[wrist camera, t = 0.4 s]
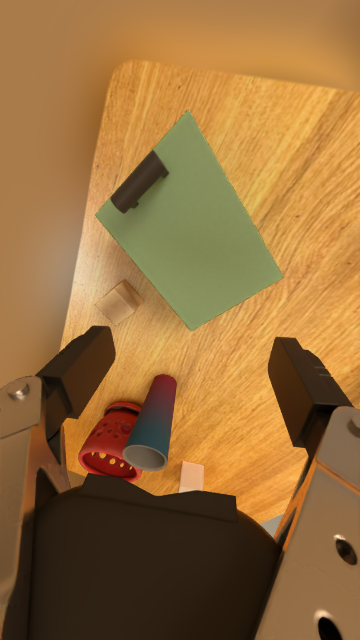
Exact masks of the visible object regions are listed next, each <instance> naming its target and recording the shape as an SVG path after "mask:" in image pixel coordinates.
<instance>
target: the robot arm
mask: <svg viewBox="0 0 360 640" xmlns="http://www.w3.org/2000/svg"><path fill="white" fill-rule="evenodd" d="M115 355H116V352H115V347H114V342H113V337H112V333H111V329H110V327H108V326H92V327H91V328H90V329H89V330H88V331H87V332H86V333H85V334H84V335H81V336H79V337H77V338H75V339H73V340H72V341H71V342H70V343H69V344H68V345H67V346H66V347H65V348H64V349H63V350H61V351H60V352H59V354H57V355H56V356H55V357H54V358H53V359H52V360H51V361H50V362H49V363H48V364H47V365H46V366H45V367H44V368H43V369H41V370H40V371H39V372H38V373H37V374H36V375H35V376H26V377H22V378H19V379H16V380H14V381H12V382H10V383H8V384H7V385H5V386H4V387H3V388H1V389H0V640H360V409H357V408H354V406H353V405H352V404H351V402H350V401H349V399H348V398H347V397H346V395H345V394H344V392H343V391H342V390H341V388H340V387H339V386H338V384H337V383H336V381H335V380H334V379H333V377H331V374H330V373H329V372H328V370H327V369H325V366H324V365H323V363H322V362H321V361H320V359H319V358H318V357H317V356H315V355H314V354H313V353H311V352H310V351H309V350H303V348H302V347H301V345H300V344H299V342H298V341H297V339H296V338H288V337H276V338H275V340H274V343H273V347H272V351H271V355H270V359H269V363H268V375H269V378H270V381H271V384H272V387H273V390H274V392H275V395H276V398H277V401H278V404H279V407H280V410H281V413H282V415H283V418H284V421H285V424H286V427H287V430H288V433H289V436H290V439H291V441H292V444H293V447H301V448H306V451H307V453H308V458H307V460H306V462H305V465H304V467H303V470H302V472H301V475H300V477H299V479H298V482H297V484H296V487H295V489H294V492H293V494H292V497H291V499H290V502H289V504H288V507H287V509H286V511H285V513H284V515H283V518H282V519H281V522H280V524H279V526H278V528H277V531H276V533H275V535H274V538H273V537H272V536H271V535H270V534H269V533H268V532H267V531H266V530H265V529H264V528H263V527H262V526H260V525H259V524H258V523H257V522H256V521H255V520H254V519H252V518H251V517H249V516H248V515H246V514H245V513H243V512H241V511H239V510H238V509H237V507H236V496H232V495H226V494H219V493H213V492H207V491H200V490H193V491H187V492H181V493H175V494H169V495H163V496H154V495H152V494H150V493H148V492H146V491H145V490H143V489H141V488H139V487H137V486H135V485H134V484H132V483H130V482H128V481H126V480H124V479H123V478H118V477H112V476H105V475H99V474H93V473H88V474H87V477H86V479H85V481H84V483H83V485H80V486H77V487H74V488H71V486H70V482H69V479H68V476H67V468H66V452H65V435H64V426H63V422H64V421H65V419H66V418H73V419H78V418H79V416H80V415H81V413H82V412H83V410H84V409H85V407H86V405H87V404H88V402H89V401H90V399H91V397H92V396H93V394H94V393H95V391H96V390H97V388H98V386H99V385H100V383H101V382H102V380H103V378H104V377H105V375H106V374H107V372H108V371H109V369H110V367H111V366H112V364H113V363H114V360H115Z"/></svg>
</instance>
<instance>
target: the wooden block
mask: <svg viewBox="0 0 360 640" xmlns="http://www.w3.org/2000/svg"><path fill="white" fill-rule="evenodd" d="M142 302H143V299H142V298H141V297H140V296H139V295H138V294H137V292H136V291H135V290H134V289H133V288H132V287H131V286H130V284H129V283H128V282H127V281H126V280H124V281H122V282H121V283H120V284H119V285H117V286H116V287H115V288H113V289H112V290H111V291H110V292H109V293H108V294H106V295H105V296H104V297H103V298H102V299H100V300H99V301H98V302H97V303H96V304H95V306H96V307H97V308H98V309H99V310H100V311H101V312H102V313H103V314H104V315H105V316H106V317H107V318H108V319H109V320H110V321H111V322H112V323H113V324H114V325H115V326H116V325H117V324H119V323H120V322H121V321H123V320H124V319H126V318H127V317H128V316H130V315H131V314H132V313H134V312H135V311H136V309H137V308H138V307H139V305H140V304H141V303H142Z"/></svg>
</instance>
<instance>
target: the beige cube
mask: <svg viewBox="0 0 360 640" xmlns="http://www.w3.org/2000/svg"><path fill="white" fill-rule="evenodd" d="M203 479H204V465H201V464H196V463H191V462H187V461H183V463H182V467H181V471H180V480H179V488H178V493H181V492H187V491H193V490H200V491H203Z"/></svg>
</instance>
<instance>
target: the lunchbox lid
mask: <svg viewBox="0 0 360 640" xmlns="http://www.w3.org/2000/svg"><path fill="white" fill-rule="evenodd" d="M95 216H96V217H97V218H98V220H99V221H100V222H101V223H102V224H103V226H104V227H105V228H106V229H107V230H108V232H109V233H110V234H111V235H112V237H113V238H114V239H115V240H116V241H117V243H118V244H119V245H120V246H121V247H122V249H123V250H124V251H125V252H126V253H127V255H128V256H129V257H130V258H131V259H132V261H133V262H134V263H135V264H136V265H137V267H138V268H139V269H140V270H141V271H142V273H143V274H144V275H145V276H146V278H147V279H148V280H149V281H150V282H151V284H152V285H153V286H154V287H155V288H156V290H157V291H158V292H159V293H160V294H161V296H162V297H163V298H164V299H165V300H166V302H167V303H168V304H169V305H170V306H171V308H172V309H173V310H174V311H175V312H176V314H177V315H178V316H179V317H180V318H181V320H182V321H183V322H184V323H185V325H186V326H187V327H188V328H189V329H190V331H193V330H194V329H196V328H198V327H199V326H201V325H203V324H205V323H206V322H208V321H210V320H212V319H213V318H215V317H217V316H218V315H220V314H222V313H224V312H225V311H227V310H229V309H230V308H232V307H234V306H236V305H237V304H239V303H241V302H242V301H244V300H246V299H248V298H249V297H251V296H253V295H255V294H256V293H258V292H260V291H261V290H263V289H265V288H267V287H268V286H270V285H272V284H273V283H275V282H277V281H279V280H280V279H282V278H284V276H283V274H282V273H281V271H280V269H279V267H278V266H277V264H276V262H275V260H274V258H273V257H272V255H271V253H270V251H269V250H268V248H267V246H266V244H265V243H264V241H263V239H262V237H261V236H260V234H259V232H258V230H257V229H256V227H255V225H254V223H253V221H252V220H251V218H250V216H249V214H248V213H247V211H246V209H245V207H244V206H243V204H242V202H241V200H240V199H239V197H238V195H237V193H236V192H235V190H234V188H233V186H232V184H231V183H230V181H229V179H228V177H227V176H226V174H225V172H224V170H223V169H222V167H221V165H220V163H219V162H218V160H217V158H216V156H215V154H214V153H213V151H212V149H211V147H210V146H209V144H208V142H207V140H206V139H205V137H204V135H203V133H202V132H201V130H200V128H199V126H198V125H197V123H196V121H195V119H194V117H193V116H192V114H191V112H190V110H189V109H188V110H187V111H186V112H185V113H184V114H183V115H182V117H181V118H180V119H179V120H178V121H177V122H176V123H175V125H174V126H173V127H172V128H171V129H170V130H169V131H168V132H167V134H166V135H165V136H164V137H163V138H162V139H161V140H160V142H159V143H158V144H157V145H156V146H155V147H154V148H153V149H152V151H151V152H150V153H149V154H148V155H147V156H146V157H145V159H144V160H143V161H142V162H141V163H140V164H139V165H138V166H137V168H136V169H135V170H134V171H133V172H132V173H131V174H130V176H129V177H128V178H127V179H126V180H125V181H124V182H123V184H122V185H121V186H120V187H119V188H118V189H117V190H116V191H115V193H114V194H113V195H112V196H111V197H110V198H109V199H108V201H107V202H106V203H105V204H104V205H103V206H102V207H101V208H100V210H99V211H98V212H97V213H96V214H95Z"/></svg>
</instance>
